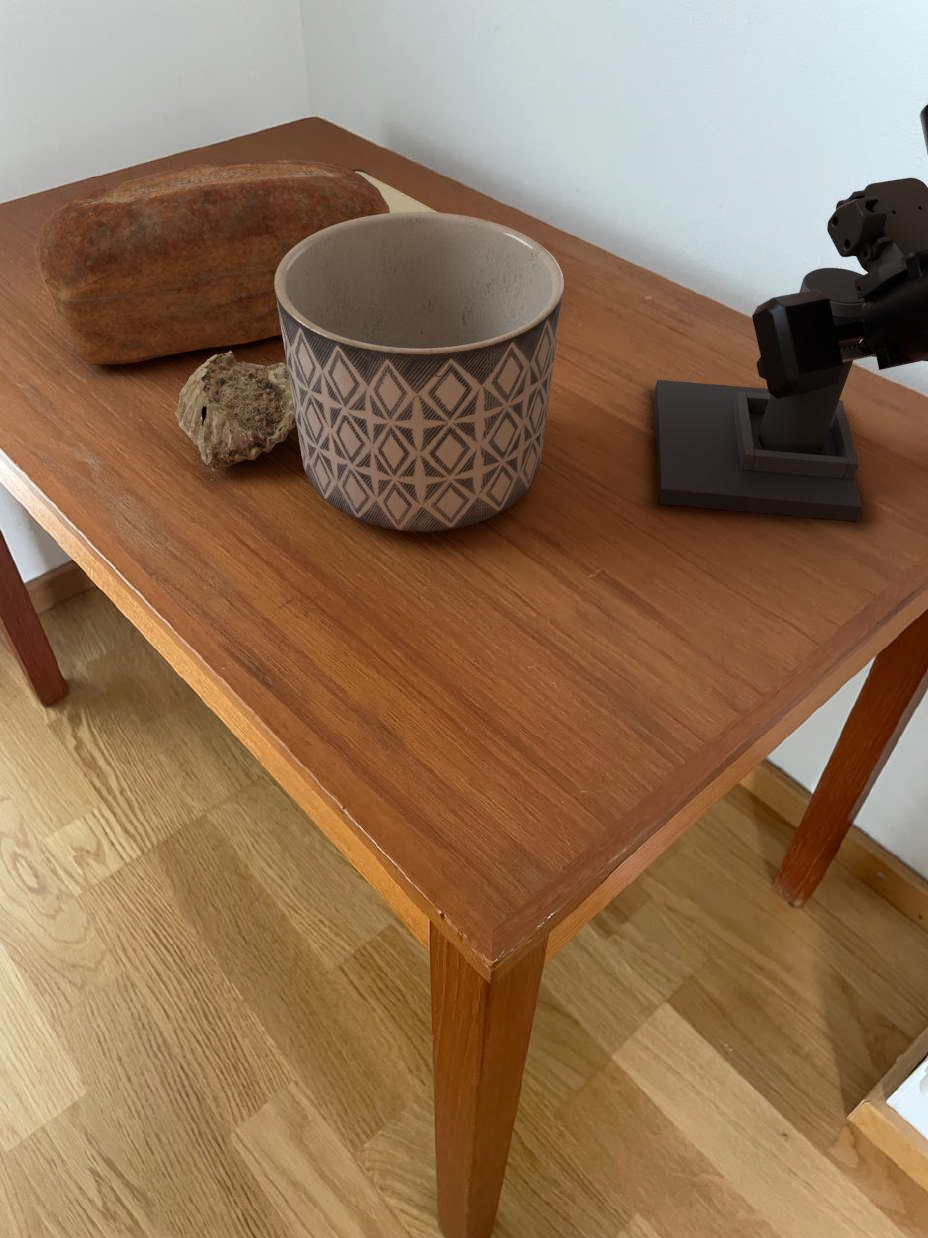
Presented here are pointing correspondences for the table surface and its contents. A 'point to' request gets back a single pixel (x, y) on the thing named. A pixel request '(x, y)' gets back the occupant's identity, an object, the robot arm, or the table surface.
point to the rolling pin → (394, 196)
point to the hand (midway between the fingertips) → (811, 358)
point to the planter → (420, 365)
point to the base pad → (746, 456)
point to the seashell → (236, 409)
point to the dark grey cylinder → (810, 414)
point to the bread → (187, 253)
